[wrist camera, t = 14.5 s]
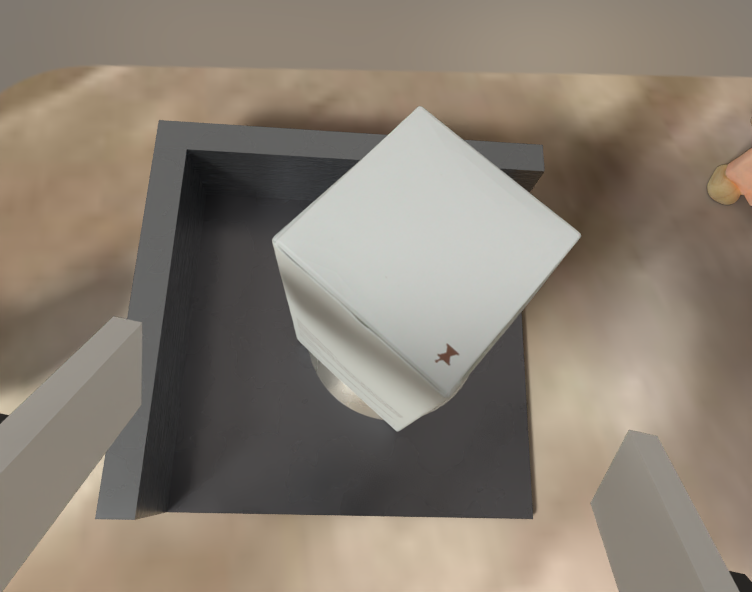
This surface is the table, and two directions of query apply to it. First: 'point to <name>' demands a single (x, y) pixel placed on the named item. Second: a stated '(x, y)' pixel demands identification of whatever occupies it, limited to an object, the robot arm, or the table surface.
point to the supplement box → (415, 267)
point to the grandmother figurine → (732, 180)
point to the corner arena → (287, 356)
